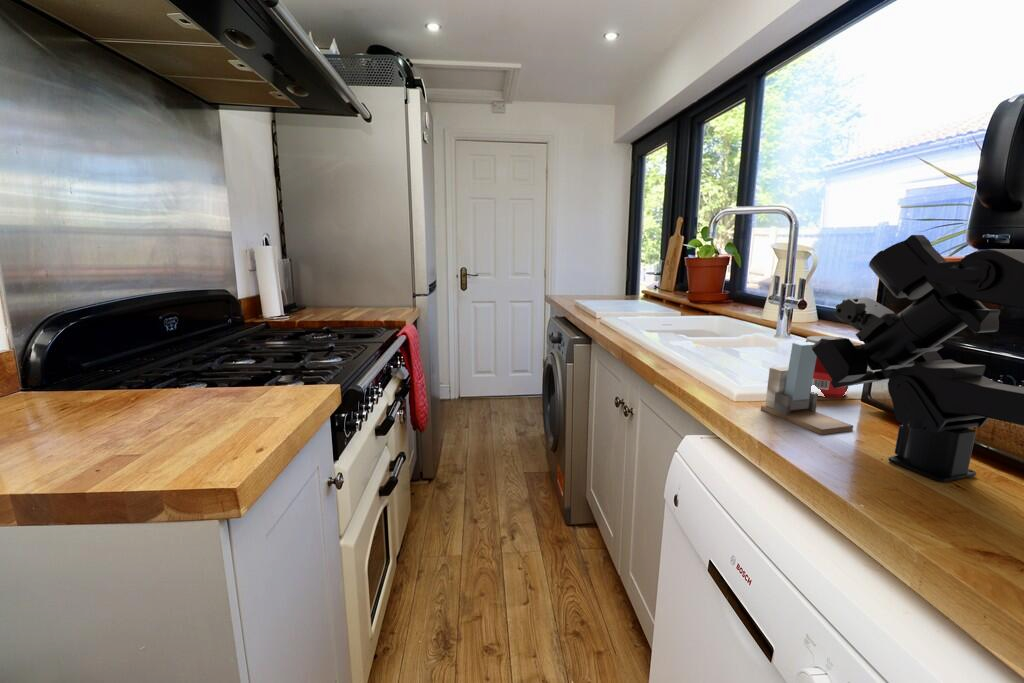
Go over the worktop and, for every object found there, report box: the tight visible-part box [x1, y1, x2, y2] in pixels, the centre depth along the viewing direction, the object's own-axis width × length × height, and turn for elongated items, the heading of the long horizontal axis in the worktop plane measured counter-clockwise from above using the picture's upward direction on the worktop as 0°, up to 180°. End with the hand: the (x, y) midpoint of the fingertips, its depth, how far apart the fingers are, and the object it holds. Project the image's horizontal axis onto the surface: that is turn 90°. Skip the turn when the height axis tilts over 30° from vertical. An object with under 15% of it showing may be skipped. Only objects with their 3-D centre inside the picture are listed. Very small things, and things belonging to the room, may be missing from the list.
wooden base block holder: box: [760, 365, 854, 435], centre depth 78 cm, size 12×6×8 cm, turn 16°
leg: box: [784, 341, 817, 410], centre depth 79 cm, size 2×4×11 cm, turn 106°
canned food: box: [805, 335, 855, 399], centre depth 93 cm, size 8×8×11 cm
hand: (833, 385), depth 73 cm, fingers closed
